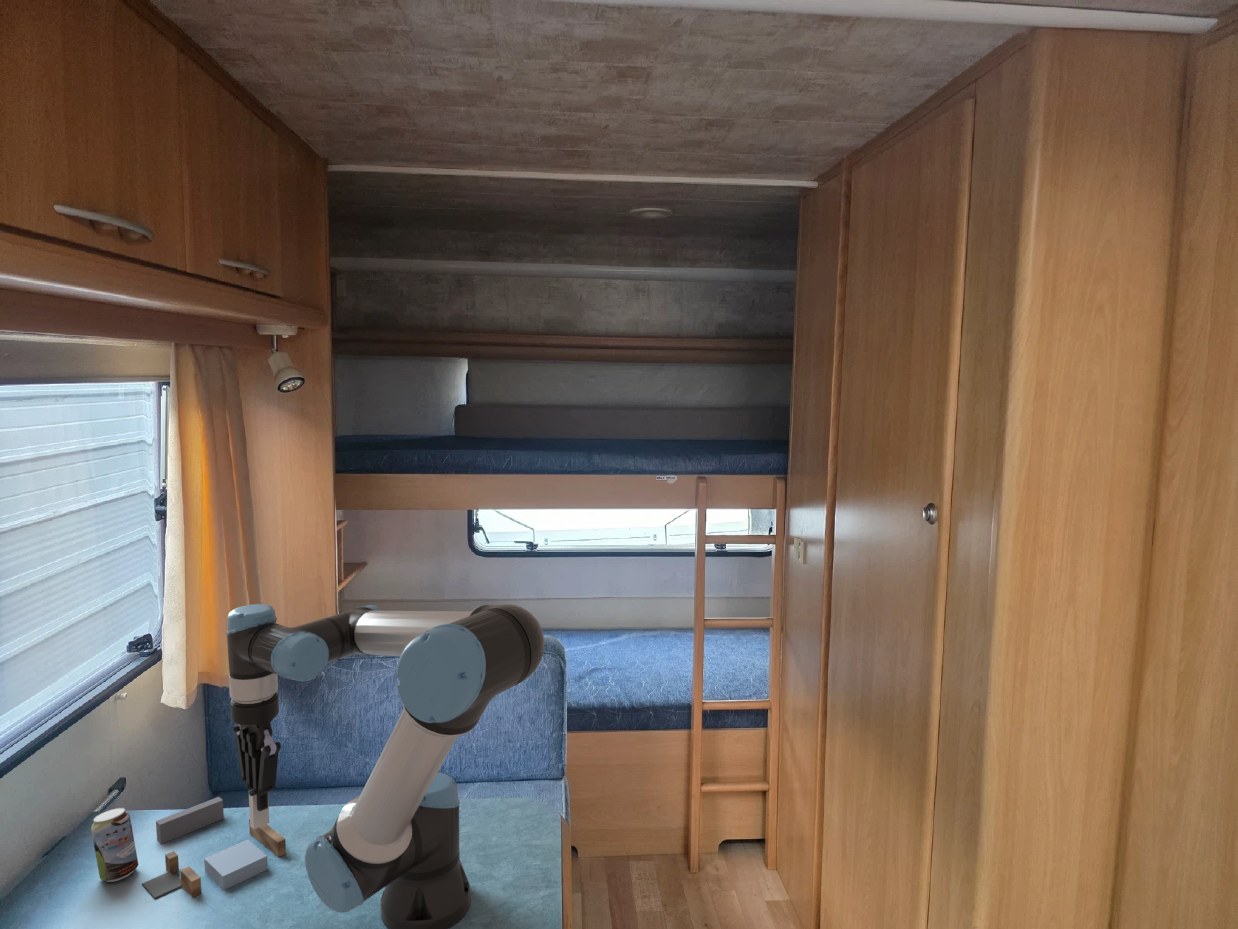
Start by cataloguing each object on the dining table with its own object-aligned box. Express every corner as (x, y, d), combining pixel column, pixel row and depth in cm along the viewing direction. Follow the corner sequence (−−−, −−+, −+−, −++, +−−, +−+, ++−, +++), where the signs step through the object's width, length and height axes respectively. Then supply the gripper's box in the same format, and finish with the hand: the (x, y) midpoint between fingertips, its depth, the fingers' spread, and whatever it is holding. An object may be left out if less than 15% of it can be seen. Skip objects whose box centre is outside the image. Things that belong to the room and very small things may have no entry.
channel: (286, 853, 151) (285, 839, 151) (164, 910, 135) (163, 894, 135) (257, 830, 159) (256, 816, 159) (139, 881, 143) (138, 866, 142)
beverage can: (120, 889, 141) (115, 825, 139) (85, 883, 142) (80, 821, 141) (147, 867, 147) (143, 807, 146) (114, 862, 148) (109, 802, 147)
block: (267, 871, 147) (267, 856, 146) (223, 892, 141) (222, 876, 140) (248, 854, 152) (247, 839, 152) (205, 873, 146) (204, 858, 146)
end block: (223, 818, 163) (222, 800, 163) (160, 844, 154) (159, 824, 154) (219, 814, 165) (218, 796, 164) (157, 840, 156) (155, 821, 155)
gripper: (294, 699, 134) (298, 829, 136) (258, 679, 142) (263, 802, 145) (250, 713, 128) (255, 849, 131) (215, 691, 136) (221, 819, 139)
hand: (259, 824), depth 138 cm, fingers closed
